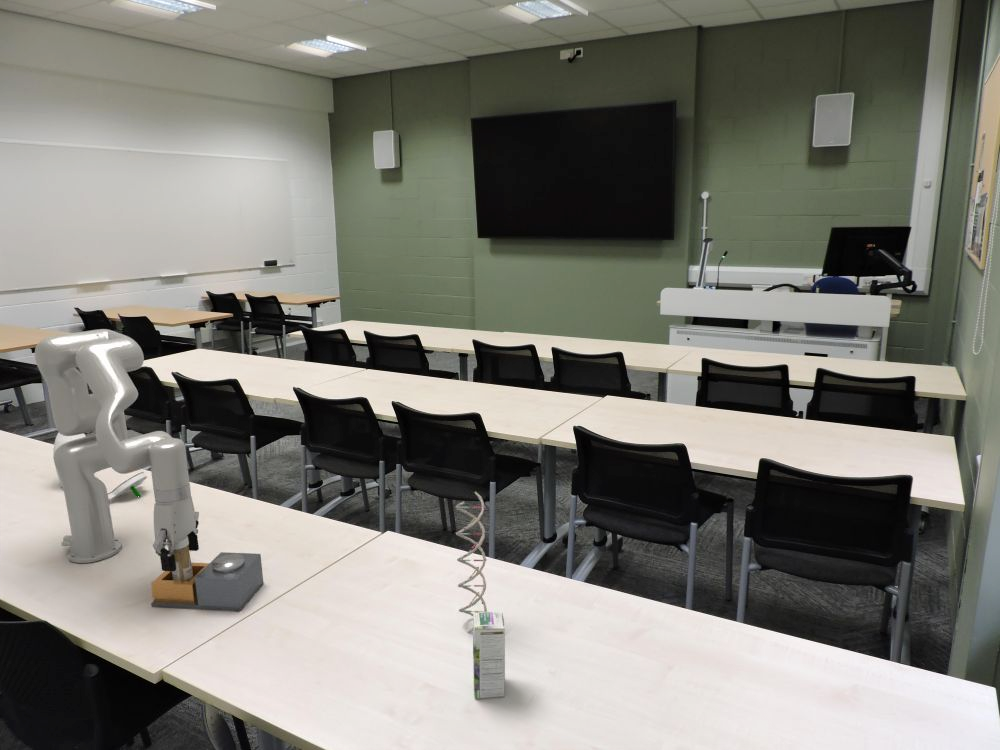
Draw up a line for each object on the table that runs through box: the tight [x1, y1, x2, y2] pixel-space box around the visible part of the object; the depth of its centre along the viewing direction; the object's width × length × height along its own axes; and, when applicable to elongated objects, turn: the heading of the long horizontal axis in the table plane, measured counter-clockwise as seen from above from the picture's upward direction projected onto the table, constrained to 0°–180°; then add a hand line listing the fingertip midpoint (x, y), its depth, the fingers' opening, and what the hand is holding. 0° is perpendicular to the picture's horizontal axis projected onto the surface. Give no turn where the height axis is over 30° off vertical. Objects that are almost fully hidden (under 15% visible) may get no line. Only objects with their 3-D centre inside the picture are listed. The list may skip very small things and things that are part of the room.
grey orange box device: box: [150, 551, 265, 612], centre depth 165 cm, size 22×15×9 cm
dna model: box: [454, 491, 488, 634], centre depth 148 cm, size 7×6×30 cm
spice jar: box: [166, 536, 193, 581], centre depth 164 cm, size 5×5×14 cm
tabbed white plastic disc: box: [107, 471, 148, 501], centre depth 223 cm, size 15×8×11 cm
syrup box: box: [472, 611, 506, 700], centre depth 130 cm, size 6×6×14 cm
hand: (181, 560), depth 164 cm, fingers open, 9 cm apart
